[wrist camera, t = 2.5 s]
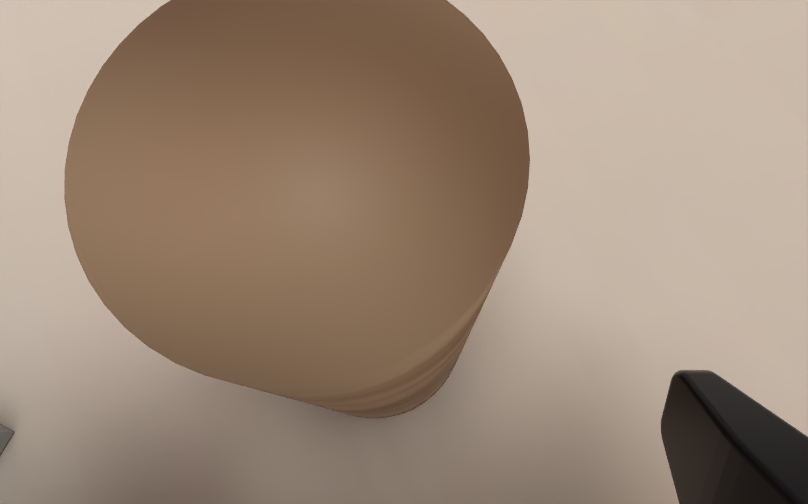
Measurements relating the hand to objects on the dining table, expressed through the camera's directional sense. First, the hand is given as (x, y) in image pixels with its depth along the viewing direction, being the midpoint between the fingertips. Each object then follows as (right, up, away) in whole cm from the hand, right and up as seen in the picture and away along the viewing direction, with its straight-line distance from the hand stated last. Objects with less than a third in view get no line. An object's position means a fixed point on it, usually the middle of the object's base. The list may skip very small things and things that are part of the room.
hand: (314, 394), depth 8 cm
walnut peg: (0, 0, +10) cm, 10 cm away
